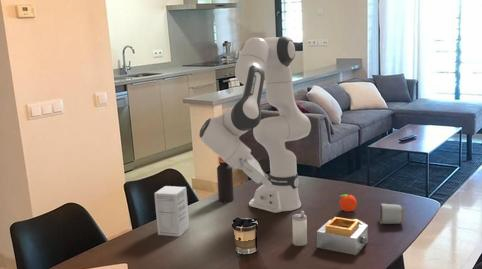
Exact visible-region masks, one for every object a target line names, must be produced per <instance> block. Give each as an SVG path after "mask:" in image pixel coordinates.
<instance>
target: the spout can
mask: <svg viewBox="0 0 482 269" xmlns="http://www.w3.org/2000/svg"><path fill="white" fill-rule="evenodd" d="M307 217H308V216H307V215H306V214H305V211H304V210H300V213H295V214H292V216H291V219H292V222H291V223H292V244H293V245H294V246H296V247H302V246H306V245H307V244H308V230H307V229H308V226H307V225H308V224H307V223H308V222H307V219H308V218H307Z"/></svg>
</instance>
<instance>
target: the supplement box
mask: <svg viewBox="0 0 482 269" xmlns="http://www.w3.org/2000/svg"><path fill="white" fill-rule="evenodd" d="M188 204H189V203H188V194H187V186H175V185H173V186H171V185H165V186H163V187H162V188H160V189H158V190H157V191H155V192H154V205H155V214H156V226H157V227H156V228H157V235H158V236H165V237H167V236H168V237H169V236H171V237H182V235H183V234H185V233H186V231H188V230H189V229H190V218H189V207H188Z"/></svg>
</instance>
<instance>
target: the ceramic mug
mask: <svg viewBox="0 0 482 269" xmlns="http://www.w3.org/2000/svg"><path fill="white" fill-rule="evenodd" d="M378 218H379V223H380V224H381V225H392V224H393V225H398V224H401V223H403V221H404V209H403V206H402V205H400V204H396V203H395V204H392V203H391V204H389V203H380V204H379V208H378Z"/></svg>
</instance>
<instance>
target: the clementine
mask: <svg viewBox="0 0 482 269" xmlns="http://www.w3.org/2000/svg"><path fill="white" fill-rule="evenodd" d="M339 197H340V199H339ZM339 197H337V199H339V206H340V208H341V210H342V211H344V212H352V211H354V210H355V209H356V208H357V204H358V201H357V198H355V196H354V195H352V194H340V195H339Z"/></svg>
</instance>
